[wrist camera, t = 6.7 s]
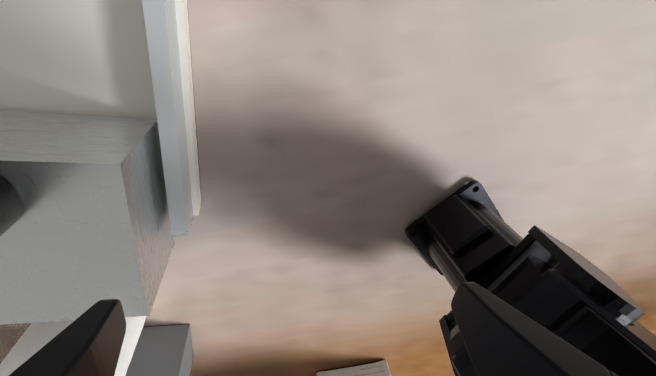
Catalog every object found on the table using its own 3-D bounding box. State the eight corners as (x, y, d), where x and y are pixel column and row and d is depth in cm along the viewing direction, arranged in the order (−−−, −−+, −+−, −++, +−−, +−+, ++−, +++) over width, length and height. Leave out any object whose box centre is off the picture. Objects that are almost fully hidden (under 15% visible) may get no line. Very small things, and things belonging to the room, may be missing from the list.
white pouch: (-50, 560, 14) (-157, 510, 11) (81, 324, 24) (43, 266, 22) (101, 522, 15) (36, 466, 12) (166, 308, 25) (140, 250, 22)
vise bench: (-283, -297, 10) (-1403, -916, 3) (173, -188, 13) (77, -401, 6) (34, 370, 26) (-48, 505, 19) (212, 354, 28) (197, 467, 22)
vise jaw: (-86, 104, 15) (-623, 265, 6) (158, 118, 17) (44, 252, 8) (-19, 247, 19) (-283, 480, 10) (174, 243, 21) (108, 431, 12)
